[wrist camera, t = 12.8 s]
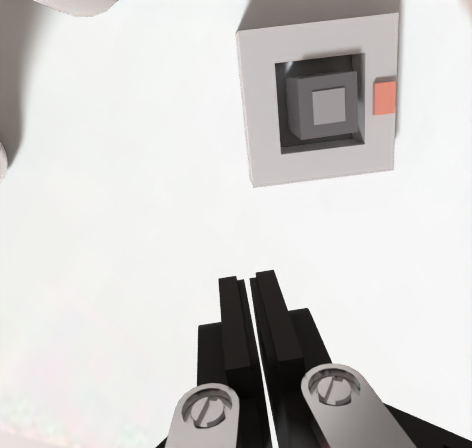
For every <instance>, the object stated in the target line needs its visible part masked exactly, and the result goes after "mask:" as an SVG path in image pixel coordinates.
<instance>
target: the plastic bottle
mask: <svg viewBox="0 0 472 448" xmlns="http://www.w3.org/2000/svg"><path fill="white" fill-rule="evenodd" d="M7 165H8V163H7V155H6V152H5V149H4V147H3V145H2V143H1V142H0V183H1V181H2V180H3V178H4V177H5V174H6V171H7Z"/></svg>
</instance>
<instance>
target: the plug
mask: <svg viewBox="0 0 472 448" xmlns="http://www.w3.org/2000/svg"><path fill="white" fill-rule="evenodd" d="M285 87H286V100H287V113H288V126H289V131H290V132H291V133H292V134H294V135H295V136H297V137H298V138H299V139H301V140H305V139H313V138H320V137H327V136H334V135H341V134H348V133H355V132H358V96H357V71H334V72H327V73H320V74H312V75H305V76H298V77H291V78H285Z"/></svg>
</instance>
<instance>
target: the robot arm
mask: <svg viewBox="0 0 472 448" xmlns="http://www.w3.org/2000/svg"><path fill="white" fill-rule="evenodd" d="M250 286H251V292H252V299H253V306H254V313H255V320H256V327H257V334H258V341H259V347H260V354H261V360H262V365H263V370H264V375H265V380H266V385H267V390H268V396H269V401H270V406H271V411H272V416H273V421H274V426H275V431H276V436H277V441H278V446H279V448H472V441H470V440H468V439H465V438H463V437H461V436H459V435H456V434H454V433H452V432H449V431H447V430H445V429H442V428H440V427H438V426H435V425H433V424H431V423H429V422H426V421H424V420H422V419H419V418H417V417H415V416H412V415H410V414H408V413H405V412H403V411H401V410H398V409H396V408H394V407H392V406H389V405H387V404H385V403H383V402H382V401H381V400H380V398H379V397H378V396H377V394H376V393H375V392H374V390H373V389H372V388H371V386H370V385H369V384H368V382H367V381H366V380H365V378H364V377H363V376H362V375H361V374H360V373H359V372H358V371H356V370H354V369H352V368H351V367H349V366H345V365H341V364H332V361H331V359H330V357H329V354H328V352H327V350H326V348H325V345H324V343H323V341H322V338H321V336H320V334H319V332H318V329H317V327H316V325H315V322H314V320H313V318H312V315H311V313H310V311H309V309H308V308H304V309H297V310H291V311H288V310H287V307H286V304H285V301H284V298H283V295H282V292H281V290H280V287H279V284H278V281H277V278H276V275H275V272H274V270H269V271H263V272H257V273H256V278H250ZM219 293H220V307H221V321H222V322H218V323H211V324H205V325H199V327H198V362H197V387H195V388H193V389H191V390H190V391H188V392H187V393H185V394H184V395H183V397H182V398H181V399H180V400H179V401H178V404H177V406H176V408H175V411H174V415H173V419H172V423H171V426H170V430H169V434H168V436H167V437H166V438H165V439H164V440H163V441H162V442H161V443H160V444H159V445H158V446H157V447H156V448H272V441H271V434H270V427H269V421H268V414H267V407H266V400H265V394H264V387H263V380H262V373H261V367H260V361H259V356H258V350H257V345H256V340H255V335H254V329H253V324H252V319H251V314H250V308H249V303H248V298H247V293H246V287H245V282H244V279H243V280H237V278H236V276H232V277H226V278H220V279H219Z"/></svg>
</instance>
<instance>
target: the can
mask: <svg viewBox="0 0 472 448" xmlns="http://www.w3.org/2000/svg"><path fill="white" fill-rule="evenodd" d="M33 1H36V2H38V3H41V4H43V5H45V6H48V7H50V8H53V9H55V10H58V11H60V12H63V13H66V14H69V15H72V16H75V17H92V16H95V15H97V14H100V13H103V12H105V11H107V10H108V9H109V8H110V7H111V6H113V5H114V4H115V3H116V2H117V1H118V0H33Z"/></svg>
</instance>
